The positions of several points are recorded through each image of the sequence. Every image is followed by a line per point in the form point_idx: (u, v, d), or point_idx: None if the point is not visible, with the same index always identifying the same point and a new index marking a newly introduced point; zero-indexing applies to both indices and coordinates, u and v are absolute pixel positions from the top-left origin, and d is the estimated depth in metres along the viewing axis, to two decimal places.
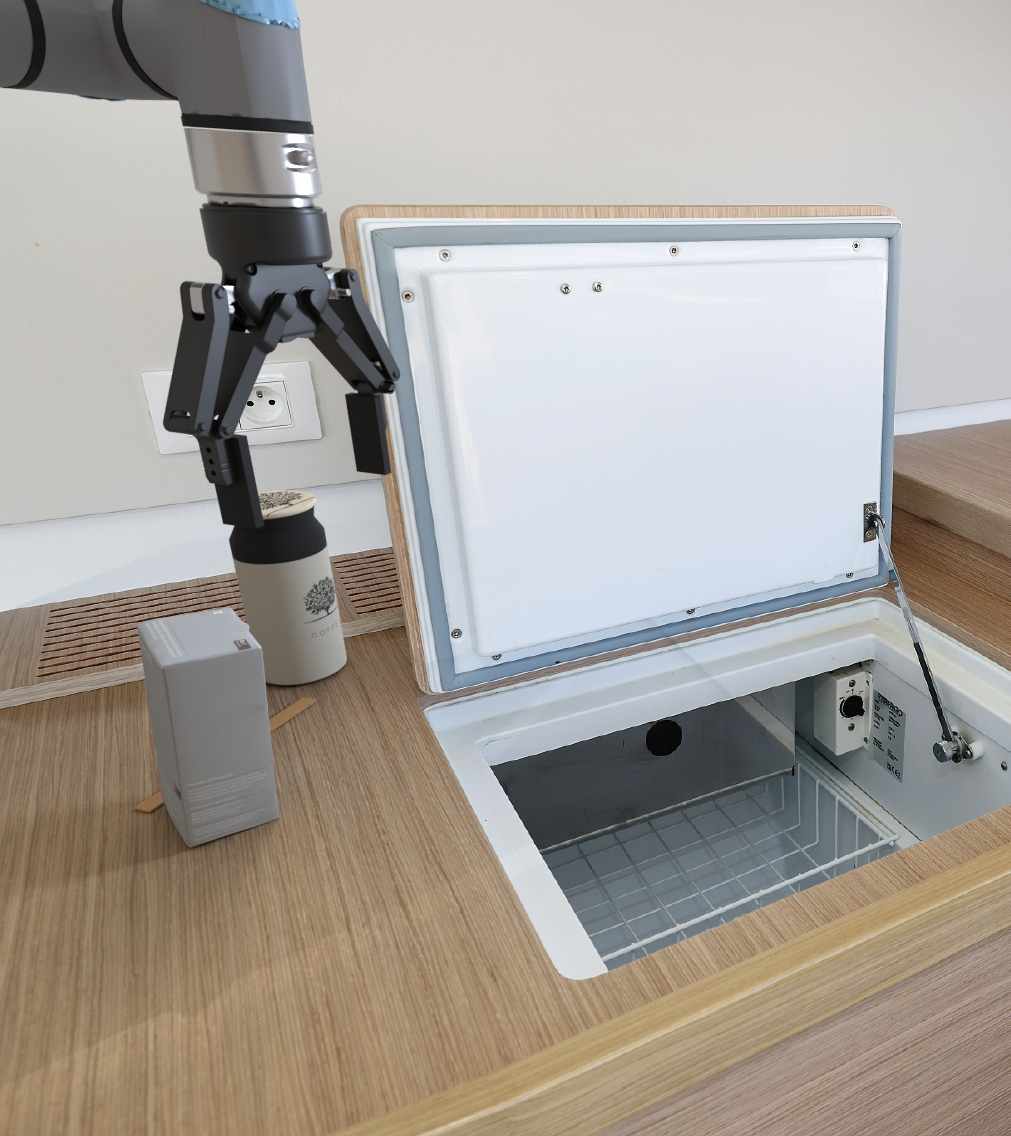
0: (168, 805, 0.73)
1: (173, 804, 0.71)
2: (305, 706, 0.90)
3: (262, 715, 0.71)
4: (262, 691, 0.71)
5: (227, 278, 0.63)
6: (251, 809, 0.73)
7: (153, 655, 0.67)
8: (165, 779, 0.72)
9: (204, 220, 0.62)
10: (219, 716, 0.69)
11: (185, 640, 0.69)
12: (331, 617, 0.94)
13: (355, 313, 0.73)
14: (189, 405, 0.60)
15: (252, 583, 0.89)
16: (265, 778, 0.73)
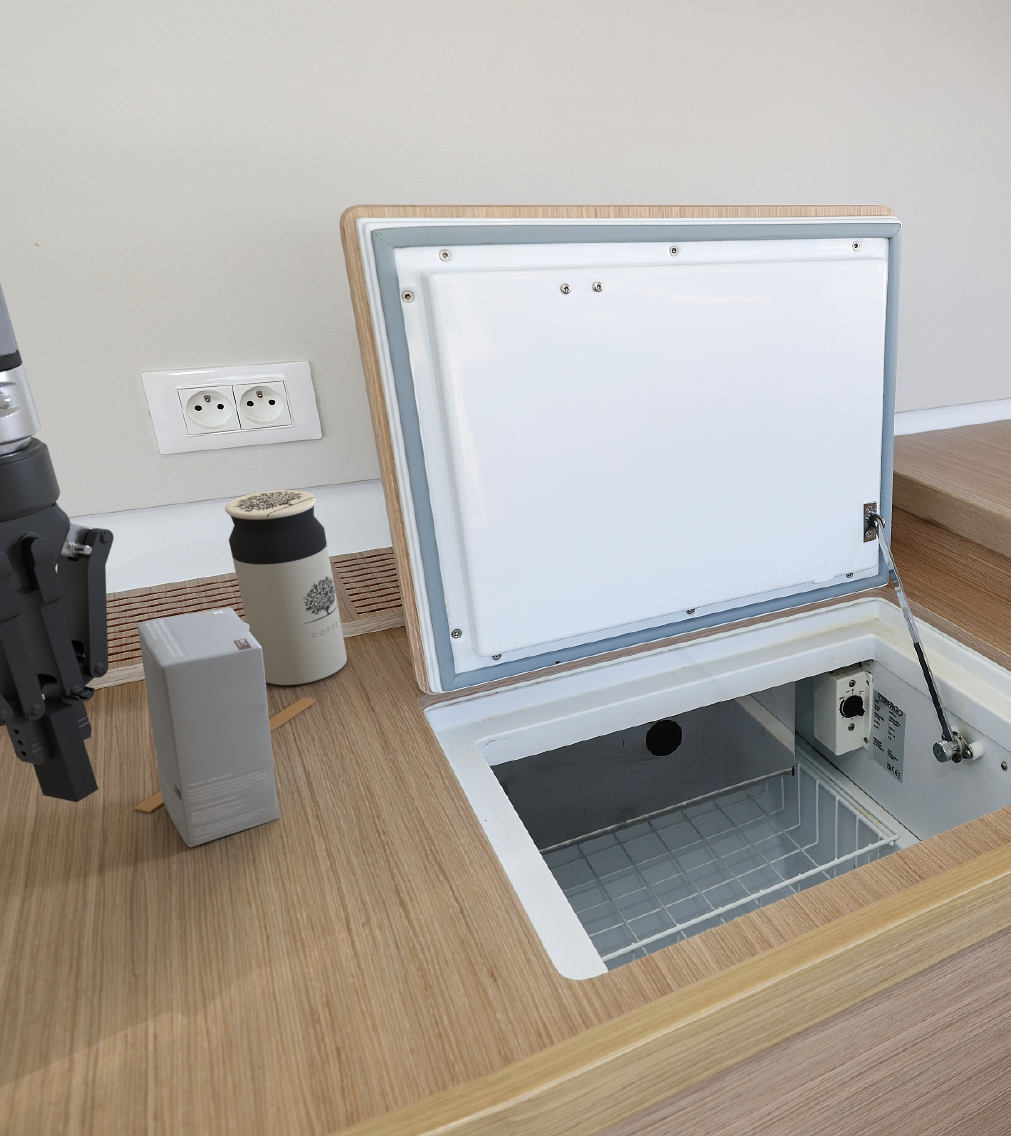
0: (168, 805, 0.73)
1: (173, 804, 0.71)
2: (305, 706, 0.90)
3: (262, 715, 0.71)
4: (262, 691, 0.71)
5: None
6: (251, 809, 0.73)
7: (153, 655, 0.67)
8: (165, 779, 0.72)
9: None
10: (219, 716, 0.69)
11: (186, 640, 0.69)
12: (331, 617, 0.94)
13: (84, 577, 0.61)
14: None
15: (251, 583, 0.89)
16: (265, 778, 0.73)
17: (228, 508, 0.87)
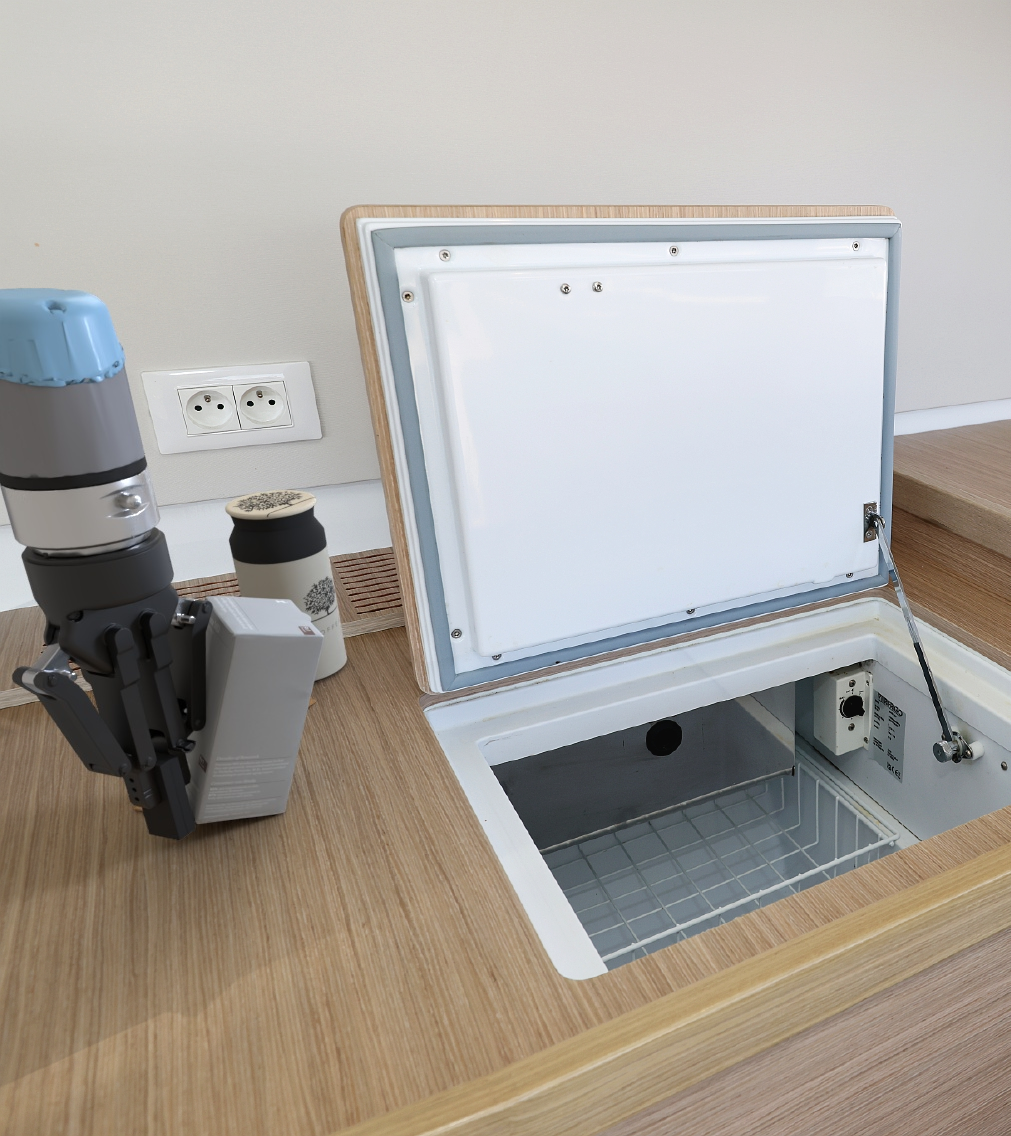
0: None
1: None
2: None
3: (304, 703, 0.74)
4: (311, 679, 0.73)
5: (51, 625, 0.60)
6: (263, 797, 0.74)
7: (225, 624, 0.70)
8: (186, 753, 0.73)
9: (25, 568, 0.60)
10: (267, 695, 0.71)
11: (254, 618, 0.72)
12: (331, 617, 0.94)
13: (188, 644, 0.69)
14: (100, 761, 0.64)
15: (251, 583, 0.89)
16: (286, 768, 0.74)
17: (228, 508, 0.87)
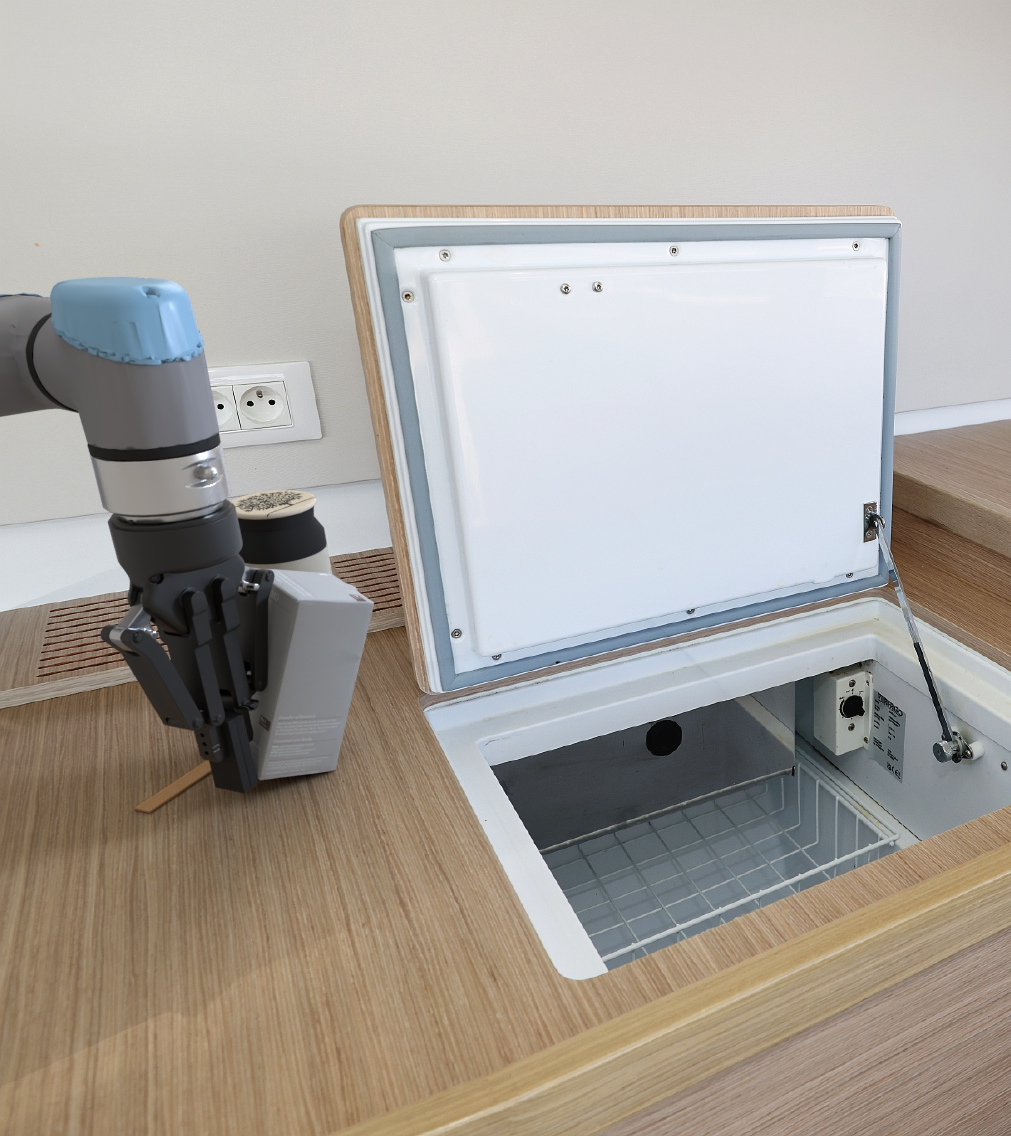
0: None
1: None
2: None
3: (355, 665, 0.79)
4: (361, 643, 0.79)
5: (134, 587, 0.65)
6: (318, 755, 0.79)
7: (285, 592, 0.75)
8: None
9: (112, 535, 0.65)
10: (324, 657, 0.77)
11: (308, 587, 0.78)
12: None
13: (252, 609, 0.74)
14: (176, 715, 0.69)
15: None
16: (337, 727, 0.80)
17: None
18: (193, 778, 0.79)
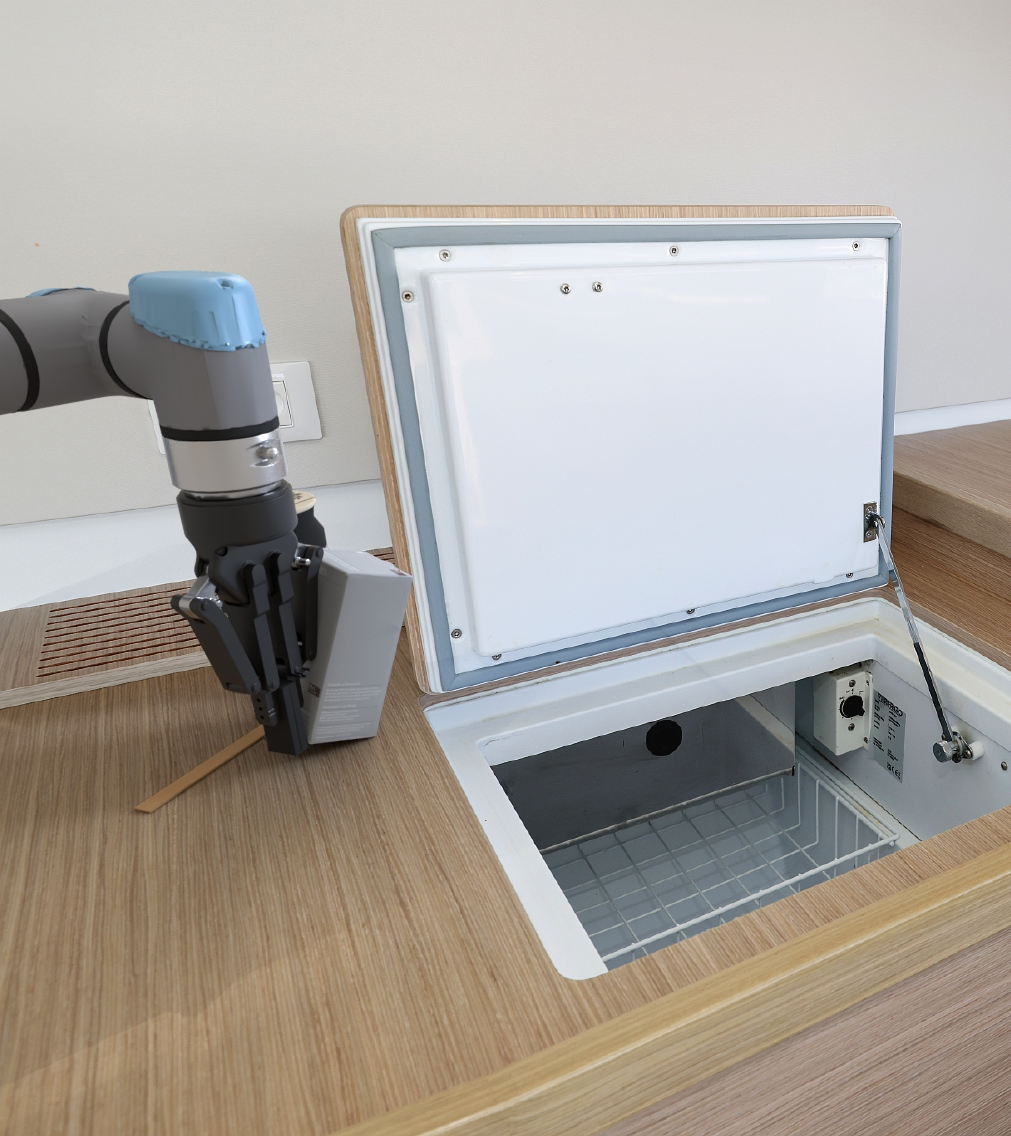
0: None
1: None
2: None
3: (395, 636, 0.85)
4: (401, 615, 0.85)
5: (201, 559, 0.70)
6: (361, 721, 0.84)
7: (333, 566, 0.80)
8: None
9: (180, 510, 0.70)
10: (369, 628, 0.82)
11: (352, 562, 0.83)
12: None
13: (304, 583, 0.79)
14: (236, 680, 0.74)
15: None
16: (379, 695, 0.85)
17: None
18: (193, 778, 0.79)
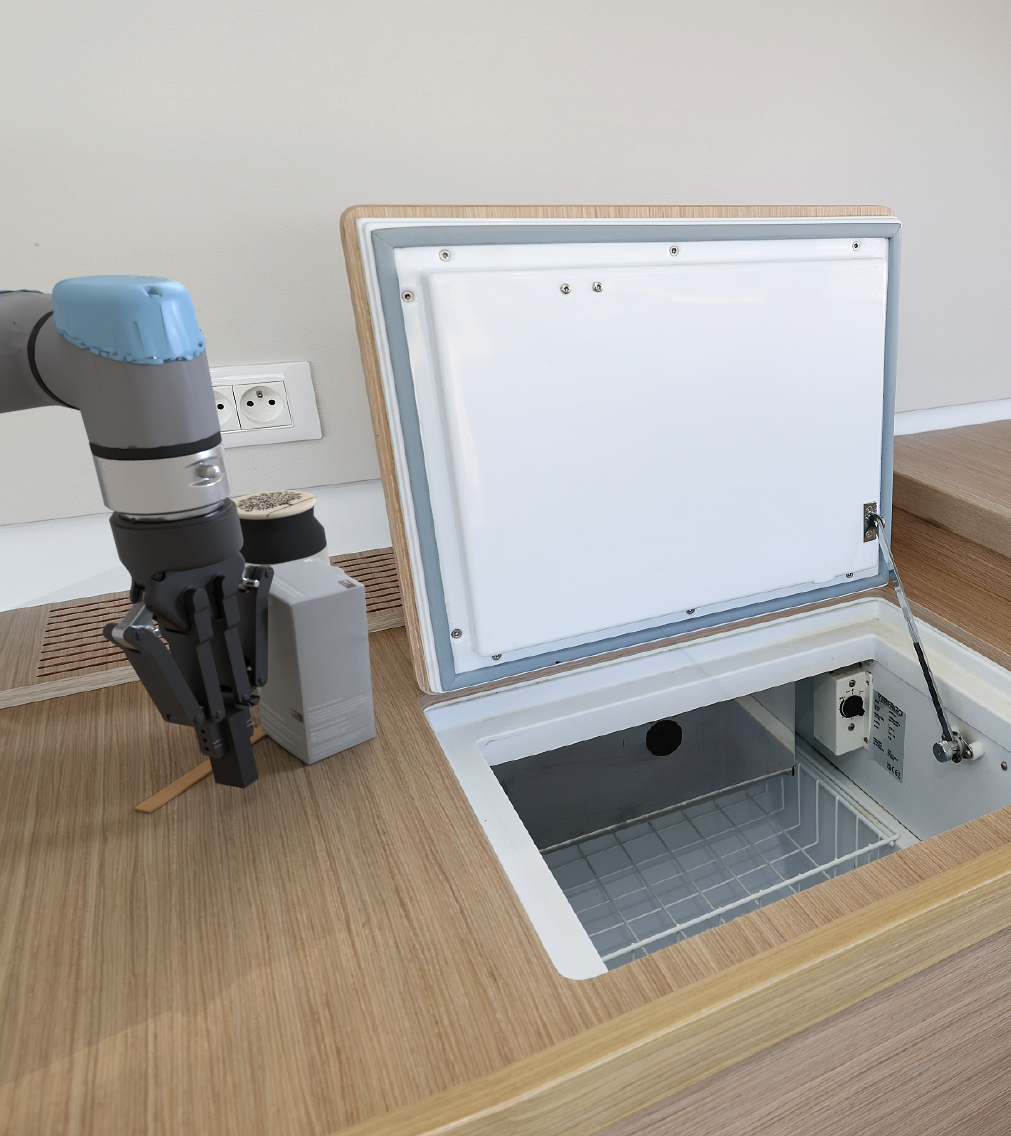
0: (277, 733, 0.83)
1: (288, 729, 0.82)
2: None
3: (364, 645, 0.82)
4: (364, 624, 0.81)
5: (136, 585, 0.66)
6: (355, 729, 0.84)
7: (276, 596, 0.77)
8: (275, 709, 0.82)
9: (113, 532, 0.65)
10: (333, 647, 0.80)
11: (296, 583, 0.79)
12: None
13: (252, 606, 0.74)
14: (177, 712, 0.69)
15: None
16: (366, 701, 0.84)
17: None
18: (193, 778, 0.79)
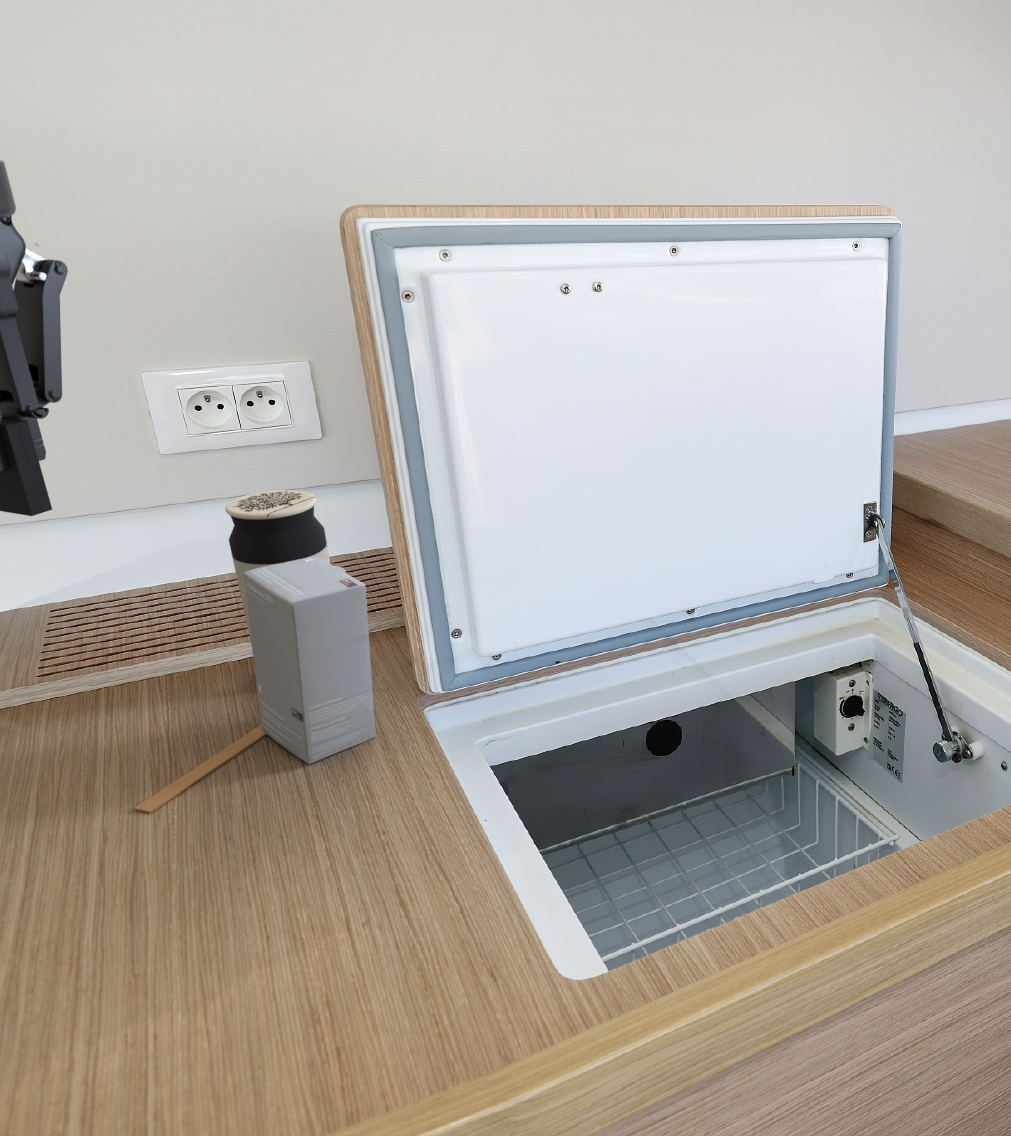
0: (277, 732, 0.83)
1: (288, 729, 0.82)
2: None
3: (365, 644, 0.82)
4: (365, 623, 0.82)
5: None
6: (355, 729, 0.84)
7: (277, 595, 0.77)
8: (276, 708, 0.82)
9: None
10: (333, 646, 0.80)
11: (298, 582, 0.79)
12: None
13: (39, 303, 0.65)
14: None
15: None
16: (366, 701, 0.84)
17: (228, 508, 0.87)
18: (193, 778, 0.79)
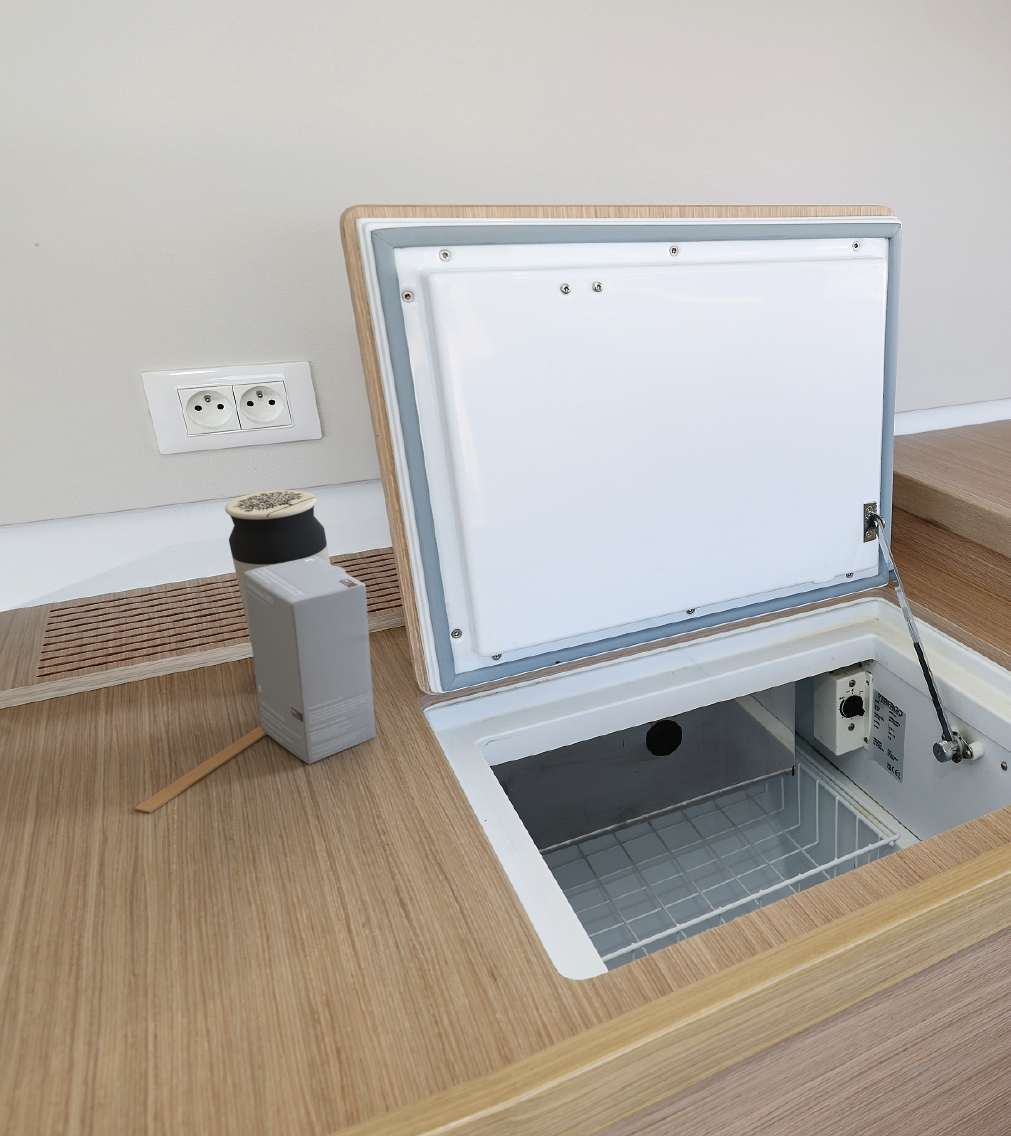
0: (277, 732, 0.83)
1: (288, 729, 0.82)
2: None
3: (365, 644, 0.82)
4: (365, 623, 0.82)
5: None
6: (355, 729, 0.84)
7: (277, 595, 0.77)
8: (276, 708, 0.82)
9: None
10: (333, 646, 0.80)
11: (298, 582, 0.79)
12: None
13: None
14: None
15: None
16: (366, 701, 0.84)
17: (228, 508, 0.87)
18: (193, 778, 0.79)
